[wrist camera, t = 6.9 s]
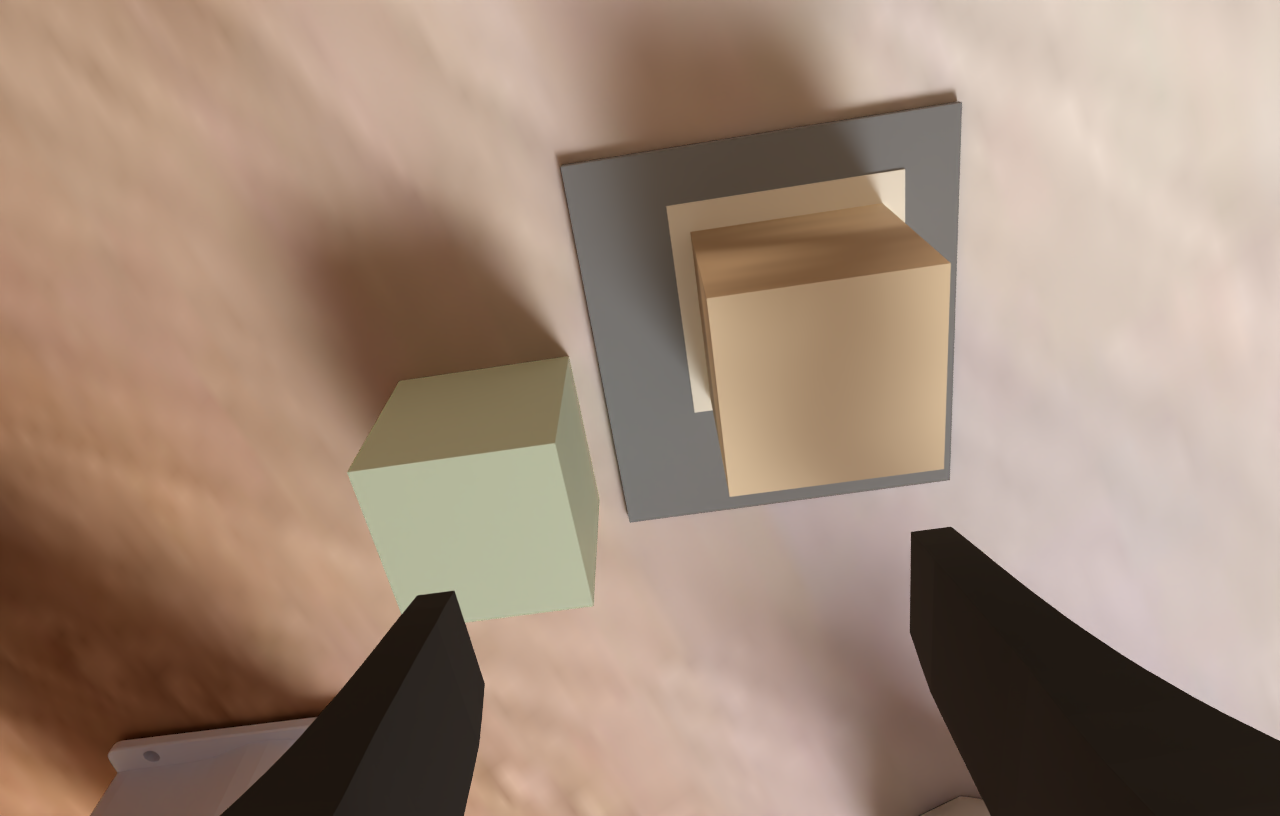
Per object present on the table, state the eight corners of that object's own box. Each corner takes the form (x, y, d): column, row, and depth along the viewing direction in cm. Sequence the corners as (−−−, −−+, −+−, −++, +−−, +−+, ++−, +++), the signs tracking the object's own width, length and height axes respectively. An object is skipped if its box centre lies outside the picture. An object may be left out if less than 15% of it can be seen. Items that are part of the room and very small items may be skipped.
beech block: (710, 399, 21) (729, 497, 17) (690, 231, 19) (707, 298, 15) (883, 375, 21) (943, 469, 17) (882, 203, 19) (951, 263, 15)
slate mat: (629, 518, 23) (629, 523, 23) (561, 165, 19) (560, 167, 18) (947, 476, 23) (950, 480, 22) (958, 101, 18) (962, 102, 18)
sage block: (445, 518, 23) (407, 629, 19) (400, 379, 21) (346, 472, 17) (599, 497, 23) (593, 606, 19) (569, 354, 21) (555, 443, 17)
